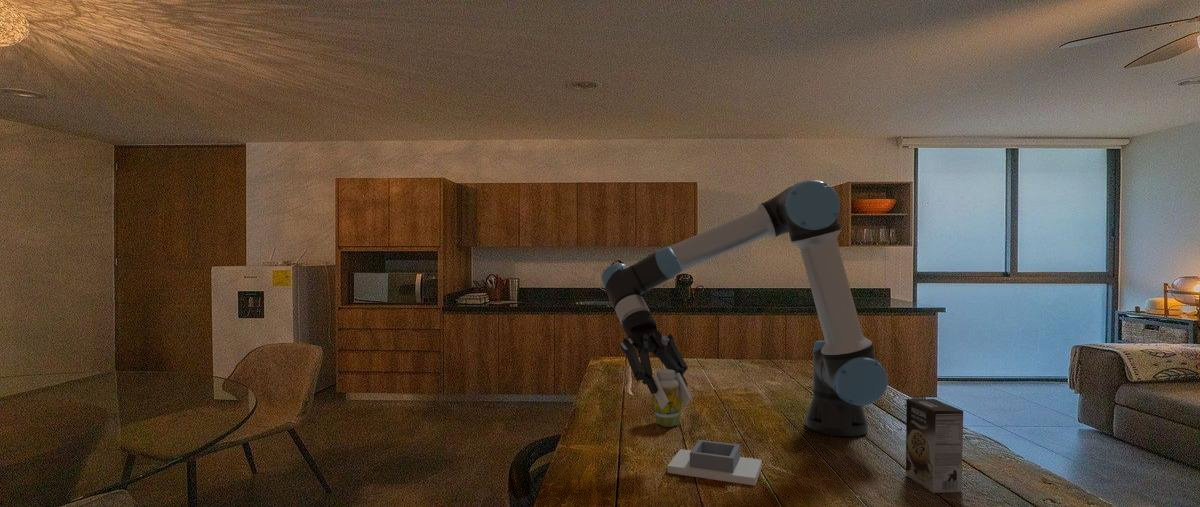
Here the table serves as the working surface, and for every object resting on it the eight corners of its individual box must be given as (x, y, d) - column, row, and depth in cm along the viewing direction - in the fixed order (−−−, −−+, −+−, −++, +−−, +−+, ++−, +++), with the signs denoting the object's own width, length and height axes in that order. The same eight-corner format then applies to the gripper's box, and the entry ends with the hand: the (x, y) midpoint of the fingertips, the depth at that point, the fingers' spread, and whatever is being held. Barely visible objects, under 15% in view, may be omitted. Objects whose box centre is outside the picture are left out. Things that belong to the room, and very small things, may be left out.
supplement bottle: (681, 412, 132) (680, 369, 132) (676, 419, 127) (676, 374, 126) (657, 410, 133) (656, 367, 133) (651, 416, 128) (651, 372, 128)
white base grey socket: (761, 466, 128) (761, 445, 128) (755, 485, 118) (755, 463, 118) (680, 455, 135) (680, 435, 135) (667, 472, 124) (667, 451, 124)
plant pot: (684, 419, 163) (684, 388, 163) (686, 429, 154) (686, 396, 154) (650, 418, 164) (650, 387, 164) (650, 428, 155) (650, 395, 155)
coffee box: (904, 475, 123) (904, 398, 123) (933, 474, 124) (934, 397, 124) (932, 493, 114) (933, 410, 114) (963, 492, 115) (964, 409, 115)
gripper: (662, 325, 148) (703, 407, 133) (596, 331, 139) (633, 418, 125) (674, 306, 143) (718, 388, 129) (607, 310, 134) (646, 399, 120)
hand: (676, 403), depth 127 cm, fingers closed on supplement bottle, 5 cm apart
